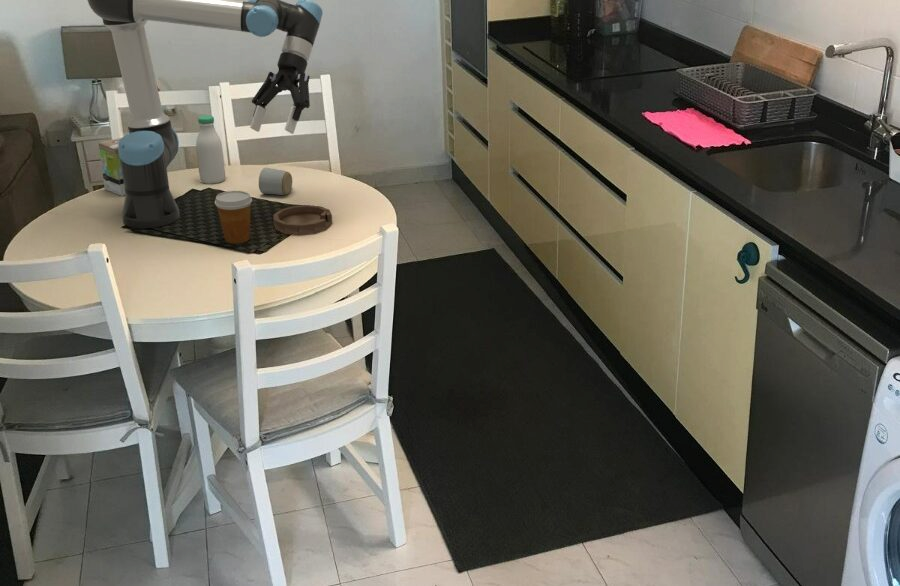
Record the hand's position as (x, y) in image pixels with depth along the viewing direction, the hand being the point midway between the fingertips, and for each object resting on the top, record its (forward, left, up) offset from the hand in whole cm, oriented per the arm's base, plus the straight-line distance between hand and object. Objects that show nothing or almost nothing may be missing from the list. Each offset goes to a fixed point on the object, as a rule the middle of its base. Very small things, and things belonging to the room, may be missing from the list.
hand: (271, 130), depth 256 cm
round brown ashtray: (+6, -6, -25) cm, 26 cm away
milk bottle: (-16, +40, -25) cm, 50 cm away
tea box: (-39, +40, -25) cm, 61 cm away
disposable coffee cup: (-12, -12, -25) cm, 31 cm away
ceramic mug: (+2, +23, -25) cm, 34 cm away
